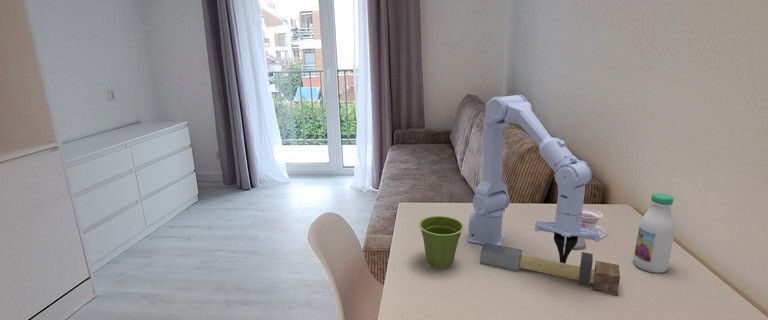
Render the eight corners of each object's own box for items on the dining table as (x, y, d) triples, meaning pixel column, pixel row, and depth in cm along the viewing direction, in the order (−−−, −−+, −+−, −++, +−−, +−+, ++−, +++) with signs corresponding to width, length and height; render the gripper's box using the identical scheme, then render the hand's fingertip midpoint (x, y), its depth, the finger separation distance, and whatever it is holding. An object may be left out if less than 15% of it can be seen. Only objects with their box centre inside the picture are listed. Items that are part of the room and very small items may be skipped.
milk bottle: (662, 261, 112) (675, 192, 106) (671, 276, 105) (685, 202, 99) (630, 257, 114) (641, 189, 109) (636, 271, 107) (649, 199, 102)
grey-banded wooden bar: (514, 270, 107) (516, 247, 105) (517, 262, 111) (519, 240, 109) (602, 289, 98) (606, 264, 97) (602, 280, 102) (606, 256, 100)
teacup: (608, 228, 132) (611, 210, 130) (603, 243, 123) (606, 224, 121) (568, 220, 139) (570, 203, 137) (561, 233, 129) (563, 215, 127)
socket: (593, 290, 99) (596, 272, 97) (593, 278, 104) (595, 260, 103) (617, 295, 97) (620, 277, 95) (615, 283, 102) (618, 264, 100)
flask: (589, 251, 118) (593, 218, 115) (562, 248, 119) (566, 216, 116) (582, 239, 125) (586, 209, 122) (556, 237, 126) (560, 207, 123)
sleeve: (479, 264, 111) (480, 249, 110) (483, 256, 115) (484, 242, 114) (518, 272, 107) (519, 257, 106) (520, 264, 111) (522, 249, 109)
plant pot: (413, 269, 109) (413, 230, 106) (424, 249, 119) (425, 213, 116) (457, 277, 105) (459, 237, 102) (465, 256, 115) (467, 219, 112)
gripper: (535, 211, 99) (530, 262, 103) (603, 222, 93) (595, 275, 97) (538, 202, 105) (533, 249, 109) (602, 211, 99) (594, 261, 103)
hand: (562, 261), depth 103 cm, fingers closed
